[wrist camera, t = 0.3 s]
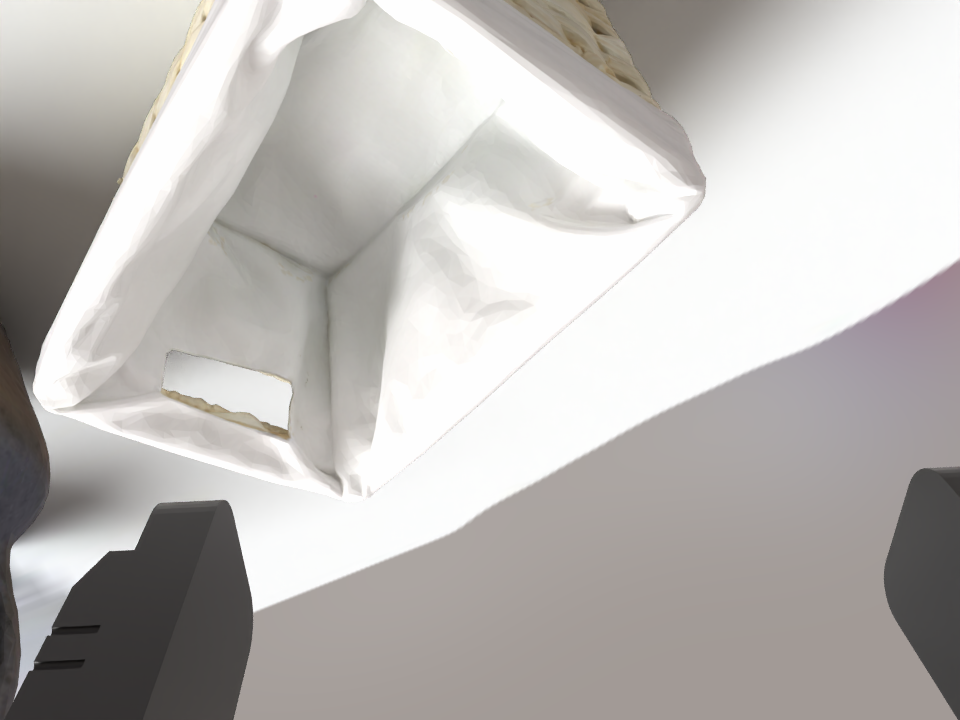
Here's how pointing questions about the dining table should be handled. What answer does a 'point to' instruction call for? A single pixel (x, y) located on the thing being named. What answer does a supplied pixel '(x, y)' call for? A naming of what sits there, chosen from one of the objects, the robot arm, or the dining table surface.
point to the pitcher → (16, 502)
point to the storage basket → (364, 225)
